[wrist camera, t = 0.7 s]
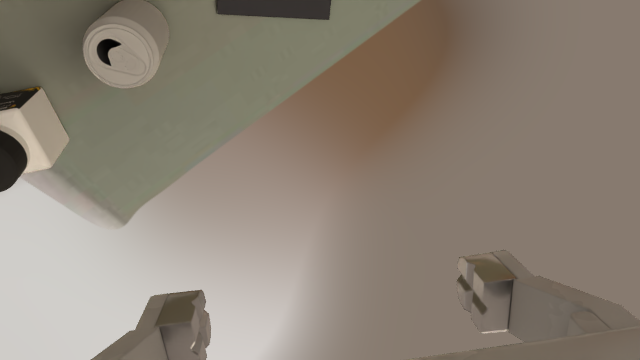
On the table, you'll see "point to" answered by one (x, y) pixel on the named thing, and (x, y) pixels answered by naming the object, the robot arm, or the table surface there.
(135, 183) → the table surface
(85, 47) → the beverage can
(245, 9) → the mat
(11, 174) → the medicine bottle
